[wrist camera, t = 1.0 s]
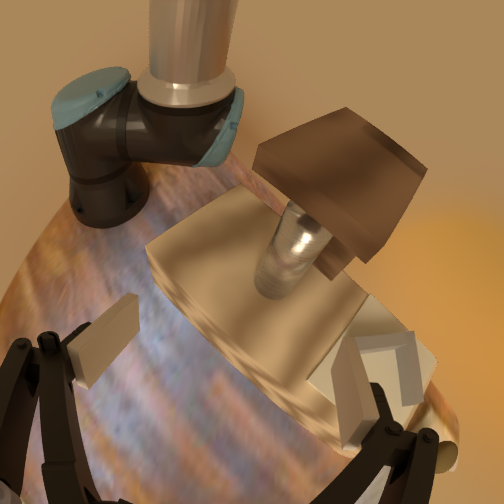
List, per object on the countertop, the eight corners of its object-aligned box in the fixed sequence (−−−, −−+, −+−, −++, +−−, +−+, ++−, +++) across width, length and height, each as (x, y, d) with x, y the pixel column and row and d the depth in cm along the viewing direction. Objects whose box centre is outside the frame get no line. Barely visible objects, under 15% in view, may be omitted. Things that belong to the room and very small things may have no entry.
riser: (154, 282, 39) (145, 245, 31) (230, 225, 47) (240, 183, 39) (342, 456, 30) (383, 463, 22) (395, 375, 38) (437, 362, 30)
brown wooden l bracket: (223, 279, 31) (258, 144, 15) (289, 223, 36) (346, 107, 21) (283, 336, 28) (384, 245, 13) (341, 269, 34) (427, 169, 19)
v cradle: (305, 380, 26) (317, 377, 24) (368, 294, 33) (381, 285, 31) (387, 446, 23) (403, 447, 21) (433, 358, 30) (448, 353, 28)
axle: (249, 268, 32) (278, 197, 22) (284, 261, 33) (323, 194, 23) (260, 303, 30) (298, 243, 20) (296, 295, 31) (346, 236, 21)
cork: (392, 441, 32) (440, 441, 23) (417, 437, 32) (465, 434, 23) (387, 474, 29) (434, 481, 19) (413, 468, 29) (460, 470, 20)
